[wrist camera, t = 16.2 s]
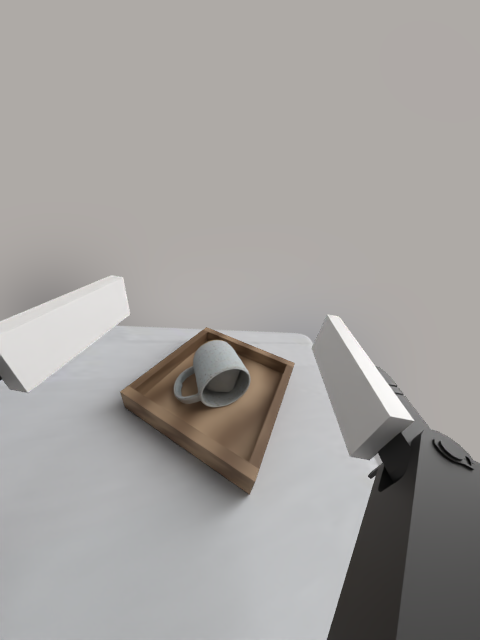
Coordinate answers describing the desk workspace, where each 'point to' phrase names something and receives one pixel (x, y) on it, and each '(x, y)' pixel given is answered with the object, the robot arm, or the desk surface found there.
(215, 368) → the ceramic mug
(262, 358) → the walnut tray
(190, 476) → the desk surface
